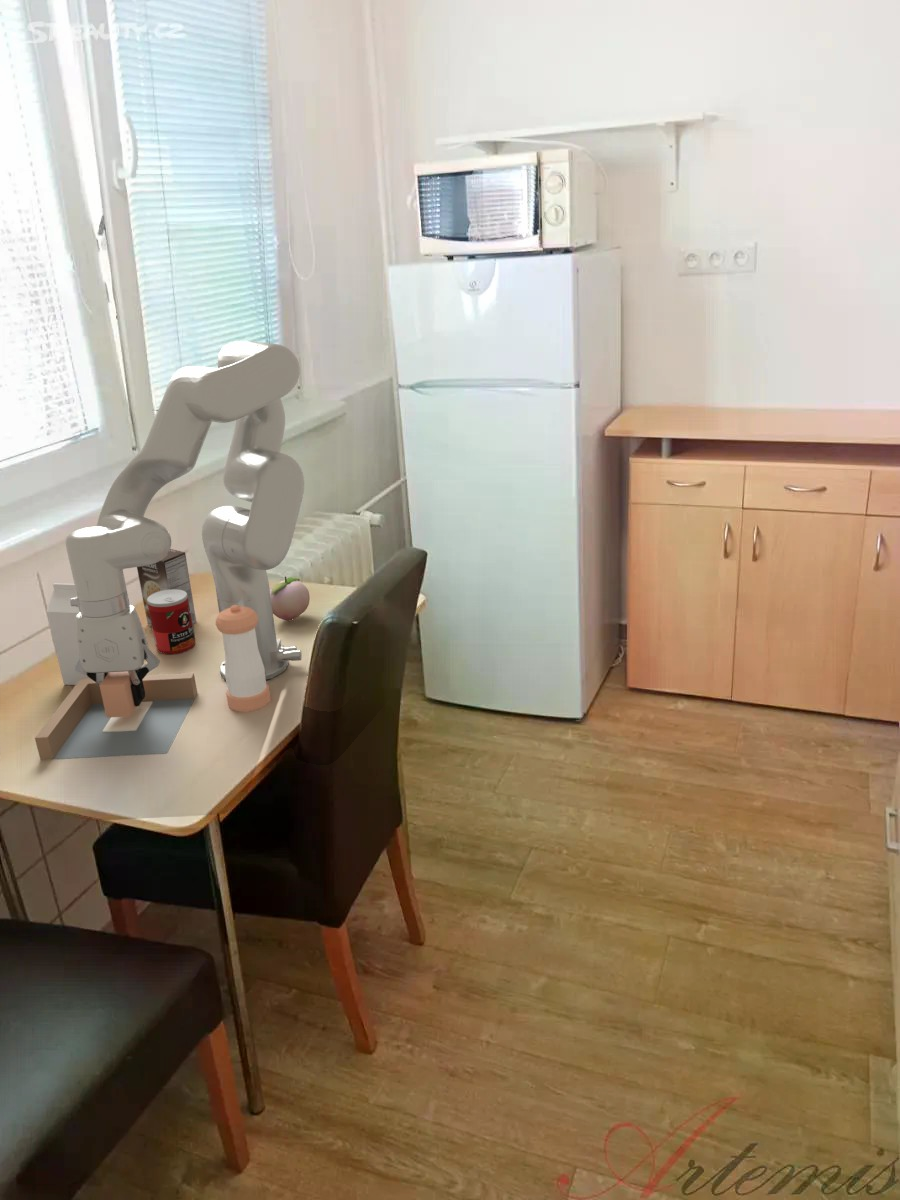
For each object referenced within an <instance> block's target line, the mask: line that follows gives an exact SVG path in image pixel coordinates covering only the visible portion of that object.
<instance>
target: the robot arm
mask: <svg viewBox="0 0 900 1200" xmlns="http://www.w3.org/2000/svg"><path fill="white" fill-rule="evenodd" d="M300 371H301V370H300V362H299V360H298V358H297V356H296V355H295V353H294V352H293V351H292V350H291V349H289V348H288V347H287V346H284V345H282V344H277V343H267V342H257V341H248V340H247V341H246V340H241V341H240V340H238V341H233V342H229V343H228V344H225V345H224V346H223V347H222V348H221V350H220V351H219V354H218V357H217V368H216V367H209V366H207V367H206V366H199V365H197V366H196V365H195V366H194V365H193V366H192V365H191V366H184V367H181V368H179V369H178V370H177V371H176V372H174V374H172V376H171V378H170V380H169V382H168V383H167V387H166V390H165V392H164V395H163V396H162V400H161V402H160V405H159V407H158V410H157V412H156V415H155V417H154V420H153V422H152V425H151V428H150V430H149V432H148V435H147V438H146V440H145V442H144V444H143V446H142V448H141V450H140V451H139V452H138V453H137V454H136V455H135V456H134V457H133V458H132V460H131V461H130V462H129V463H128V464H127V465H126V467H125V468H124V469H123V470H122V471H121V472H120V473H119V474H118V476H117V477H116V478H115V480H114V481H113V483H112V484H111V486H110V488H109V490H108V493H107V495H106V497H105V500H104V503H103V505H102V508H101V509H100V513H99V515H98V518H97V523H96V526H87V527H82V528H78V529H76V530H74V531H72V532H70V533H69V534H68V535H67V536H66V538H65V547H66V552H67V557H68V560H69V565H70V570H71V575H72V579H73V584H75V588H76V593H77V597H76V598H71V600H70V604H71V606H76V607H78V608H79V612H80V613H78V614H77V616H76V632H77V644H78V652H79V660H78V662H77V664H76V667H75V670H76V671H78V672H80V673H82V674H84V675H87V676H88V677H89V678H90V679H92V680H93V681H95V682H96V684H97V686H99V685H100V684H101V683H102V681H103V680H104V678H105V677H106V676H107V674H108V673H109V672H125V671H128V673H129V675H130V678H131V680H132V685H131V691H132V695H133V700H134V705H135V706H139V705H140V703H141V702H142V700H143V699H144V698H145V690H144V685H143V680H142V679H143V678H144V677H145V676H146V675H149V673H150V672H152V671H153V670H154V669H155V668H157V667H158V666H159V665H160V663H161V660H160V658H158V657H157V656H156V655H155V653H154V652H152V650H150V648H149V647H148V642H147V639H146V633H145V632H144V627H143V626H142V622H141V620H140V618H139V615H138V612H137V611H136V608H135V606H134V605H131V604H130V600H129V594H128V589H127V584H126V580H125V575H124V570H125V569H131V568H137V567H141V566H147V565H151V564H155V563H157V562H159V561H161V560H162V559H163V558H164V557H165V556H166V555H167V554H168V552H169V551H170V549H172V536H171V534H170V532H169V530H168V528H166V527H165V525H163V524H162V523H160V522H158V521H156V520H154V519H151V518H147V517H145V513H146V512H147V509H148V507H149V505H150V502H151V501H152V499H153V497H155V495H156V494H157V493H158V492H159V491H160V490H161V489H162V488H163V487H164V486H166V485H167V484H169V483H170V482H173V481H175V480H177V479H179V478H180V477H183V476H184V475H186V474H188V473H190V472H191V471H193V469H194V468H195V466H196V464H197V461H198V458H199V456H200V454H201V451H202V449H203V446H204V443H205V440H206V437H207V436H208V435H207V434H208V433H209V430H210V428H211V426H212V423H219V424H222V423H223V424H227V423H230V422H234V421H235V424H234V429H233V434H232V439H231V443H230V446H229V450H228V454H227V458H226V462H225V466H224V471H223V479H222V480H223V484H224V487H225V489H226V491H227V492H228V493H229V494H230V495H231V496H233V497H235V498H238V499H240V500H243V501H246V502H248V503H249V502H250V503H251V506H250V509H249V508H244V507H243V506H242V507H241V506H237V505H223V506H219V507H217V508H215V509H213V510H211V511H210V512H209V513H208V514H207V516H206V517H205V519H204V520H203V523H202V529H201V539H202V544H203V548H204V551H205V554H206V556H207V559H208V562H209V565H210V568H211V572H212V577H213V582H214V588H215V594H216V600H217V605H218V606H217V607H218V614H219V613H220V612H222V611H224V610H225V609H228V608H231V606H233V605H238V606H243V607H249V608H251V609H253V610H254V611H255V612H256V614H257V616H258V623H257V626H256V627H255V632H256V639H257V645H258V650H259V653H260V656H261V659H262V662H263V665H264V669H265V678H266V681H268V680H270V679H273V678H276V677H278V676H279V675H281V674H282V673H283V672H284V671H285V670H286V669H287V668H288V665H289V661H291V662H293V661H294V662H295V661H302V650H301V649H299V650H297V646H296V645H295V646H285V645H282V642H281V641H282V640H281V639H280V638H277V634H276V626H275V621H274V614H273V611H272V604H271V597H270V590H271V589H270V582H269V577H268V572H267V571H268V570H272V569H274V568H277V567H278V566H279V565H280V564H281V563H282V562H283V561H284V559H286V556H287V554H288V552H289V549H290V548H291V544H292V540H293V537H294V533H295V530H296V525H297V522H298V517H299V513H300V509H301V506H302V501H303V498H304V492H305V479H304V478H305V477H304V474H303V471H302V467H301V466H300V464H299V462H298V461H297V460H296V459H294V458H293V457H292V456H290V455H289V454H286V453H284V452H283V453H282V452H281V449H282V444H283V438H284V433H285V426H286V412H285V409H284V404H283V401H282V398H283V397H285V396H287V395H288V394H289V393H291V392H292V391H293V389H294V388H295V387H296V385H297V383H298V380H299V377H300ZM145 661H146V664H144V663H145ZM286 667H287V668H286ZM219 672H220V676H221V677H222V678H223V679H224V680H226V677H225V660H223V661H222V662H221V664H220V666H219ZM99 687H100V686H99Z"/></svg>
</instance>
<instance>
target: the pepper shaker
mask: <svg viewBox="0 0 900 1200" xmlns="http://www.w3.org/2000/svg"><path fill="white" fill-rule="evenodd" d="M257 623H258V616H257V614H256V612H255V611H254V610H253V609H251V608H249V607H243V606H238V605H233V606H231V608H228V609H225V610H224V611H222V612H220V613H219V612H218V614H217V616H216V619H215V627H216V629H217V630H218V632H219V633H221V634H222V642H223V649H224V661H225V677H226V679H225V680H226V686H227V690H226V693H225V694H226V702H227V706H228V708H229V709H231V710H232V711H236V712H252V711H256V710H259V709H261V708H264V707H265V706H266V705H268V704H269V702H270V701H271V692H270V686H269V684H268V683H267V680H266V678H265V669H264V665H263V662H262V659H261V656H260V653H259V650H258V645H257V639H256V632H255V627H256V626H257Z"/></svg>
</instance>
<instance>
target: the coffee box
mask: <svg viewBox="0 0 900 1200" xmlns="http://www.w3.org/2000/svg"><path fill="white" fill-rule="evenodd" d="M187 561H188V560H187V554H186V552H185V551H182V550H176V549H172V548H170V551H169V552H168V554H167V555H166V556H165V557H164V558H163V559H162V560H161V561H159V562H157V563H155V564H151V565H147V566H141V567H136V570H137V576H138V581H139V586H140V591H141V596H142V603H143V606H144V612H145V618H146V621H147V622H146V623H147V625H149V626H151V627H152V624H151V619H150V614H149V609H148V603H147V602H148V601H147V598H148V597H149V596H150V595H152V594H154V593H156V592H159V591H163V590H170V589H177V590H183V591H185V592H186V593H187V596H188V601H189V606H190V612H191V618H192V624H193V625H194V624H196V623H197V617H196V612H195V604H194V603H195V602H194V599H193V592H192V587H191V586H192V585H191V580H190V579H191V578H190V573H189V568H188V562H187Z"/></svg>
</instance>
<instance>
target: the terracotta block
mask: <svg viewBox="0 0 900 1200" xmlns="http://www.w3.org/2000/svg"><path fill="white" fill-rule="evenodd" d="M131 685H132V680H131V678H130V675H129V673H128V671H125V672H109V673H108V674H107V676H106V677H105V678H104V680H103V681H102V683H101V684H100V685H99V686H100V690H101V695H102V699H103V704H104V708H105V713H106V717H107V718H110V717H129V716H131V715H132V714H133V712H134V710H135V709H136V707H137V706H135V705H134V700H133V695H132V691H131Z"/></svg>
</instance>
